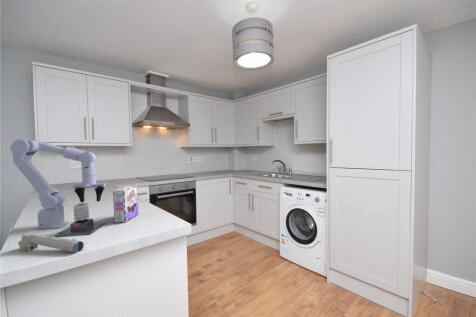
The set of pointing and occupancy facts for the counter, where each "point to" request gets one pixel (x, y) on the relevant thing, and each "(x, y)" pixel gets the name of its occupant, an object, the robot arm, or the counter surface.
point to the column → (81, 211)
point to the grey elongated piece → (49, 243)
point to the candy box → (125, 204)
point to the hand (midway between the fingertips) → (90, 201)
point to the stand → (81, 228)
